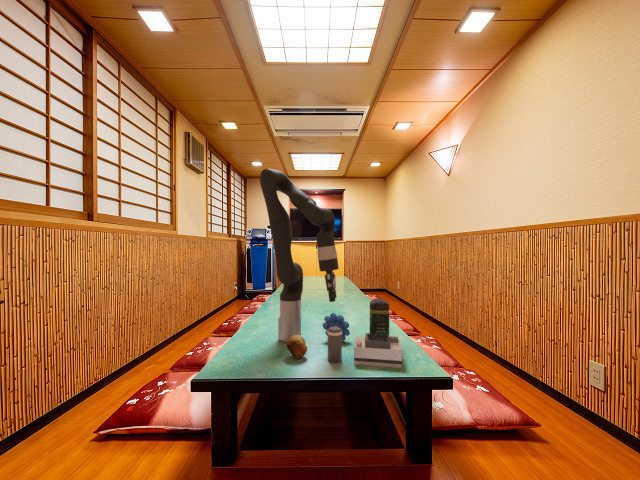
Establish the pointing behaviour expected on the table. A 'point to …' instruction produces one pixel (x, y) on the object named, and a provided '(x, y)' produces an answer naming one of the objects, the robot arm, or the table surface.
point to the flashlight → (334, 344)
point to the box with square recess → (378, 351)
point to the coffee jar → (379, 316)
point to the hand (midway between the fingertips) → (333, 299)
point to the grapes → (336, 324)
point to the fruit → (297, 346)
